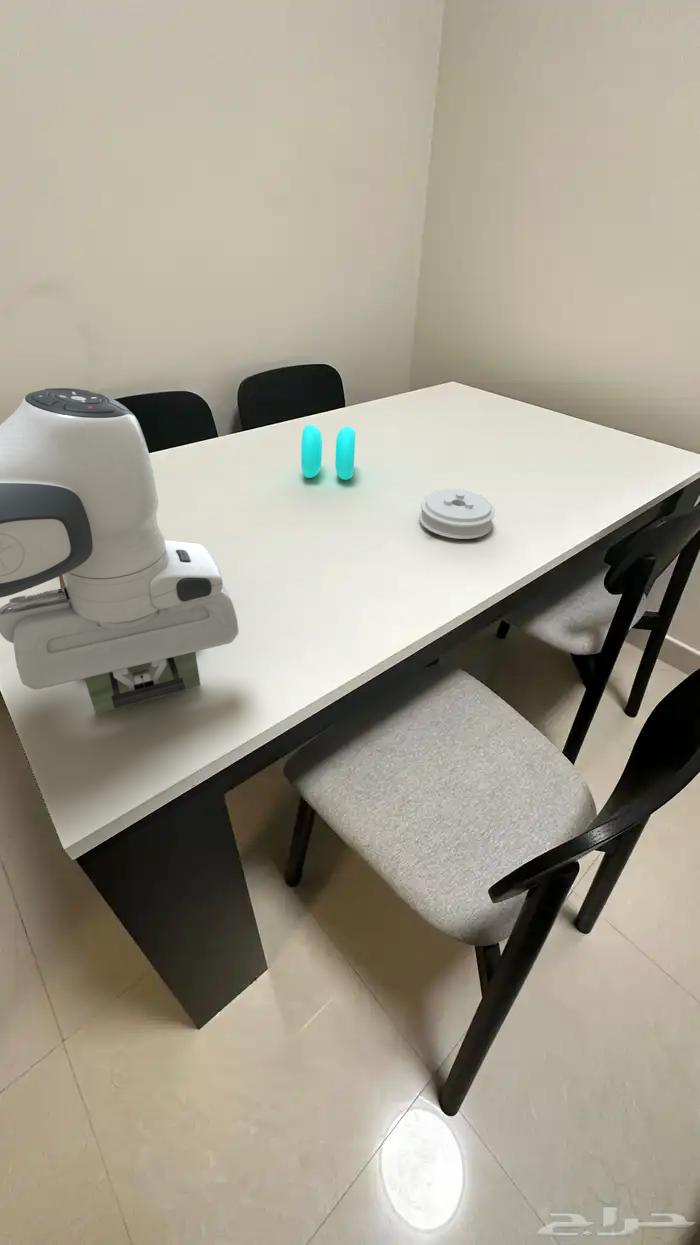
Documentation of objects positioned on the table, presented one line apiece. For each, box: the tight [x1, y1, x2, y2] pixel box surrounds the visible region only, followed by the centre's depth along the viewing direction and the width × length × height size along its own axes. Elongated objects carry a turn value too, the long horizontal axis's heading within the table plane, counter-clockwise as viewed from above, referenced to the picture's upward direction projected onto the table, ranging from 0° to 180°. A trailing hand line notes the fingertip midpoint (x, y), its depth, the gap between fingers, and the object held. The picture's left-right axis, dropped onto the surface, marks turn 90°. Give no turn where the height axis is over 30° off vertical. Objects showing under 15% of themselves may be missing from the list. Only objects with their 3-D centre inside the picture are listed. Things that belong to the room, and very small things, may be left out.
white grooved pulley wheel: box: [419, 488, 496, 540], centre depth 100 cm, size 13×13×5 cm
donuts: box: [300, 423, 356, 481], centre depth 112 cm, size 10×10×10 cm
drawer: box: [84, 652, 201, 714], centre depth 65 cm, size 18×11×8 cm, turn 25°
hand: (144, 689), depth 60 cm, fingers closed
